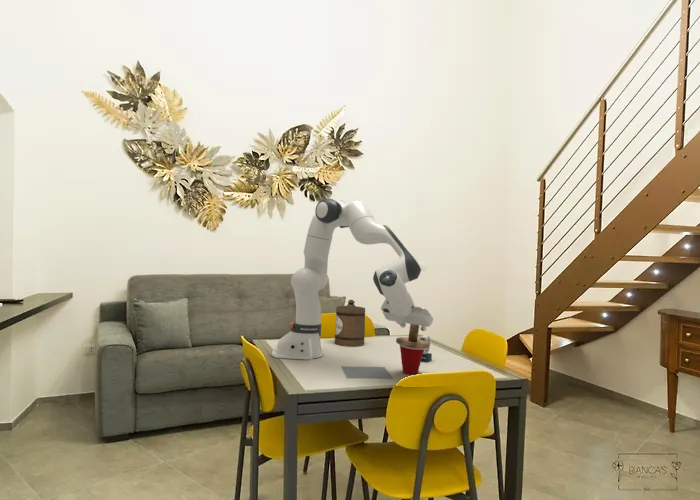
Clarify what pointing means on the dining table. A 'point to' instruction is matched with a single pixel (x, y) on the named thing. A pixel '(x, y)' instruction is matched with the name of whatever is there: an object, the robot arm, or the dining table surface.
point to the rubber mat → (366, 372)
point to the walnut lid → (412, 339)
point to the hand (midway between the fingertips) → (413, 327)
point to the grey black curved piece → (426, 350)
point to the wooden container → (350, 325)
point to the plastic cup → (411, 359)
